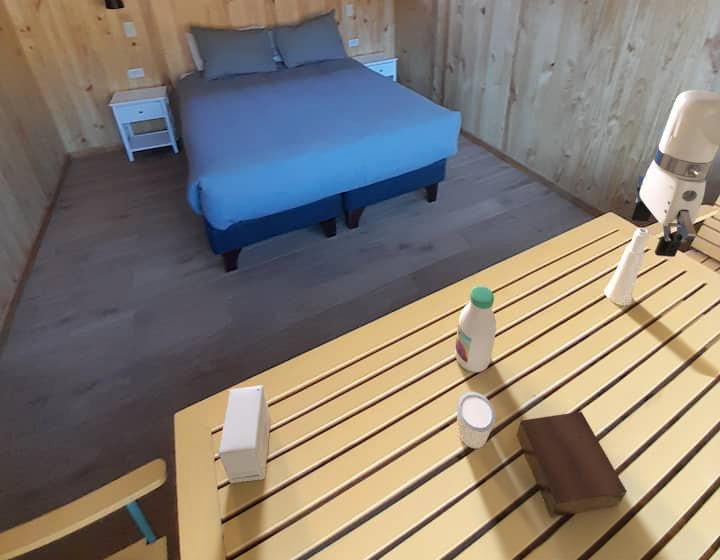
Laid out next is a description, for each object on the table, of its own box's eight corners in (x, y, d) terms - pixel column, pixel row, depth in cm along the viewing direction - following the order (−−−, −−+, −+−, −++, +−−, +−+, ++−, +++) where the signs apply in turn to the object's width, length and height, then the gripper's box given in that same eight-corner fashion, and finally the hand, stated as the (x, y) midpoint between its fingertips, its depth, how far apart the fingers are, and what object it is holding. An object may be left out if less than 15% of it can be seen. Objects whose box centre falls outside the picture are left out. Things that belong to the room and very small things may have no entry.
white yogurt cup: (446, 431, 77) (449, 410, 73) (466, 404, 81) (469, 383, 78) (478, 461, 72) (483, 441, 69) (497, 431, 77) (502, 410, 73)
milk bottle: (489, 345, 92) (501, 283, 83) (489, 377, 86) (503, 314, 76) (455, 337, 94) (463, 275, 85) (453, 368, 87) (461, 305, 78)
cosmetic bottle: (634, 308, 100) (663, 241, 90) (607, 303, 102) (633, 237, 92) (627, 289, 105) (653, 224, 95) (601, 284, 107) (624, 220, 97)
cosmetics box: (238, 419, 79) (229, 387, 74) (271, 415, 80) (264, 384, 75) (227, 484, 70) (216, 453, 65) (264, 480, 70) (256, 448, 66)
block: (575, 426, 77) (581, 411, 75) (618, 506, 66) (627, 491, 64) (516, 435, 76) (520, 420, 74) (550, 517, 65) (556, 503, 63)
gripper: (740, 192, 61) (699, 273, 69) (677, 138, 77) (649, 209, 84) (686, 188, 62) (652, 268, 70) (635, 136, 78) (611, 207, 85)
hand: (650, 236), depth 77 cm, fingers open, 9 cm apart
